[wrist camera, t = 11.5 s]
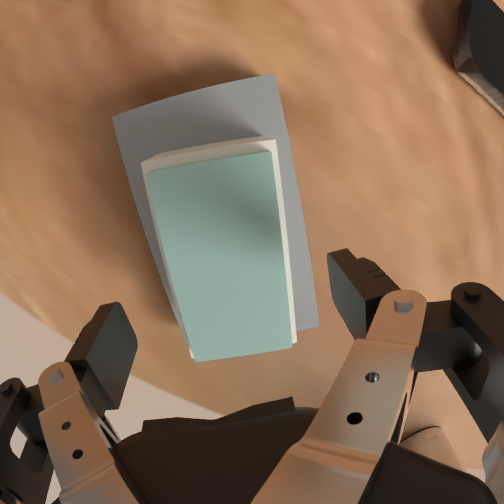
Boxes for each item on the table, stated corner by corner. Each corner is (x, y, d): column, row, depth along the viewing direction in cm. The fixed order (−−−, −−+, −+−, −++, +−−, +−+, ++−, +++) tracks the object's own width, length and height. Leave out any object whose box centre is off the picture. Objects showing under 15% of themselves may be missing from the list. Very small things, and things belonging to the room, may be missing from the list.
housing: (263, 135, 16) (279, 140, 12) (282, 299, 20) (300, 352, 16) (160, 153, 16) (135, 165, 12) (196, 313, 20) (190, 368, 15)
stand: (309, 303, 24) (319, 326, 21) (193, 329, 24) (191, 354, 21) (267, 80, 18) (274, 73, 15) (126, 117, 18) (111, 116, 15)
